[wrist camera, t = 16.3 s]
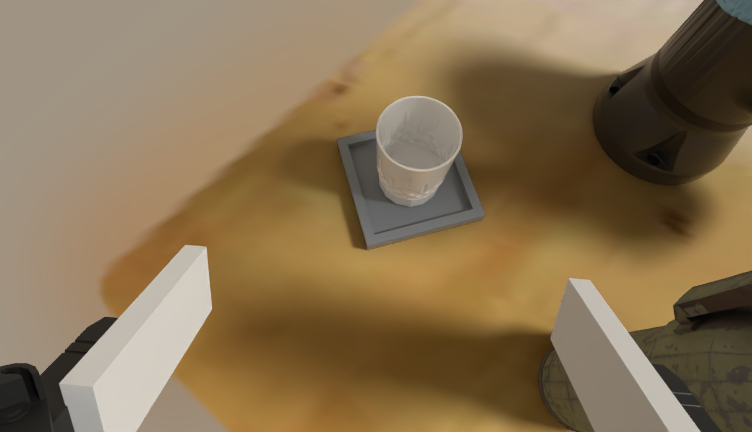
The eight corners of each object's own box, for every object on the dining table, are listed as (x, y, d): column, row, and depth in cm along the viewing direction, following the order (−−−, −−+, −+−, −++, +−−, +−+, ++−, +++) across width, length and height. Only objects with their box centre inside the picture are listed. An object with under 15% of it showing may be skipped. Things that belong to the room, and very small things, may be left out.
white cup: (361, 164, 50) (361, 114, 41) (422, 138, 51) (436, 83, 42) (393, 223, 48) (401, 185, 38) (456, 194, 49) (479, 150, 40)
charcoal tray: (443, 121, 53) (445, 113, 52) (481, 219, 49) (485, 215, 47) (337, 145, 51) (336, 139, 50) (367, 250, 47) (367, 246, 46)
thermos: (565, 307, 46) (1082, 116, 13) (659, 400, 43) (1636, 461, 10) (506, 367, 43) (952, 322, 11) (602, 470, 40) (1618, 843, 8)
